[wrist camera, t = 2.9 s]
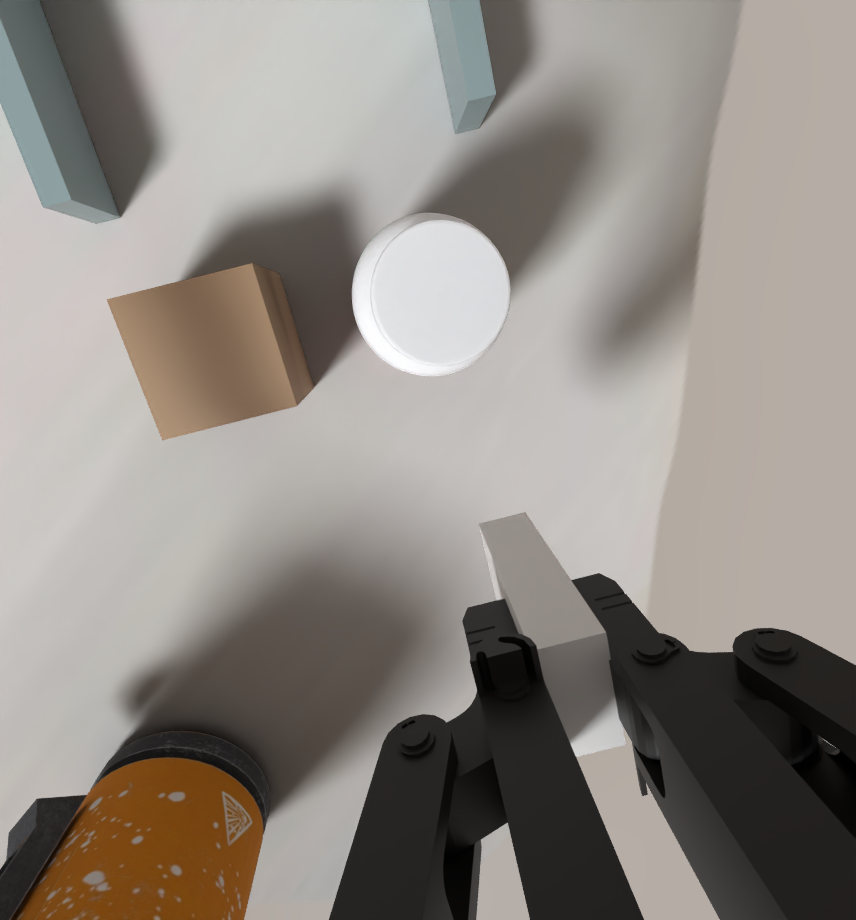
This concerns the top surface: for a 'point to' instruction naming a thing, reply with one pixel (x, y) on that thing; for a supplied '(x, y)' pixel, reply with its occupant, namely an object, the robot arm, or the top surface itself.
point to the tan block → (214, 349)
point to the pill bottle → (430, 294)
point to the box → (68, 141)
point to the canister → (144, 838)
